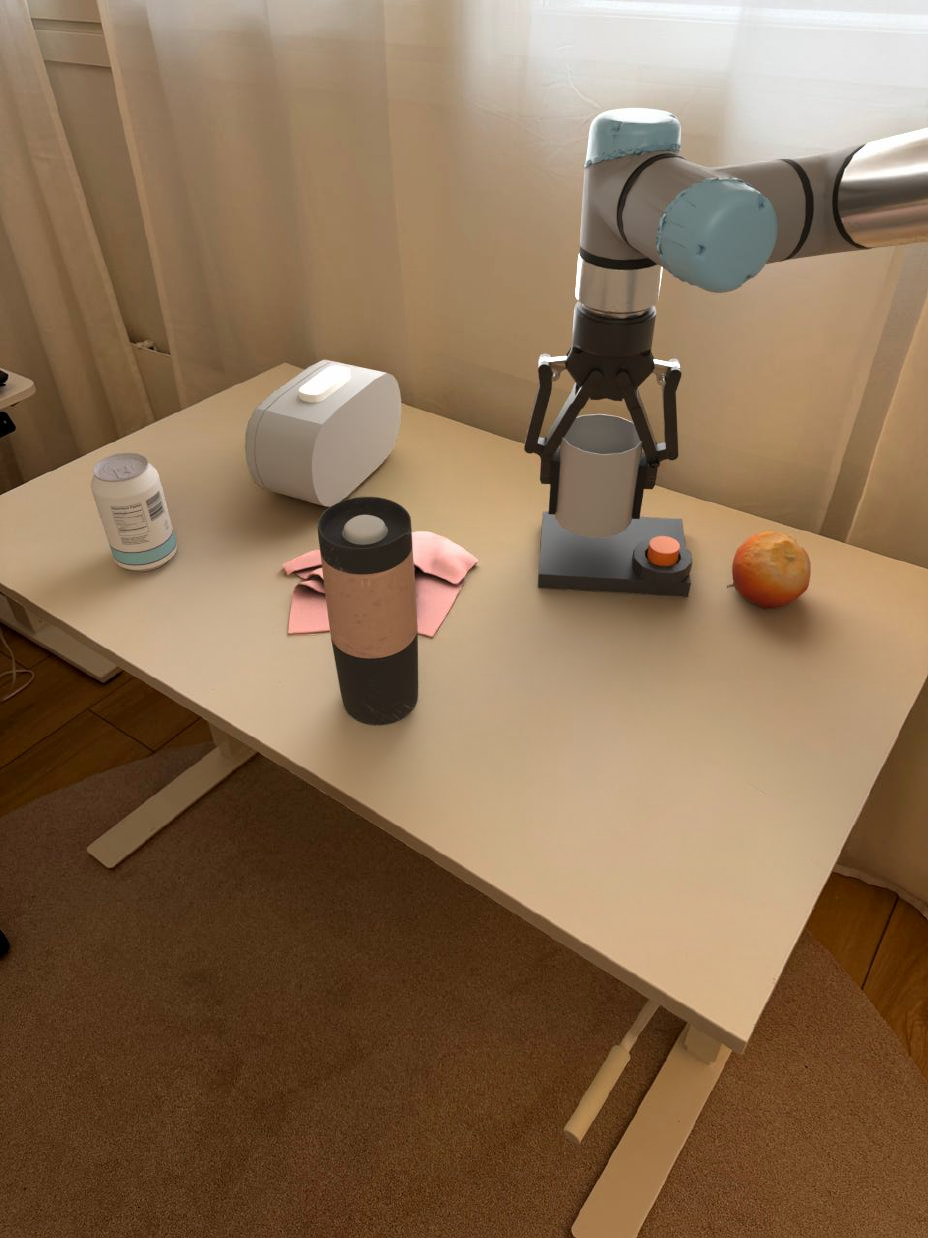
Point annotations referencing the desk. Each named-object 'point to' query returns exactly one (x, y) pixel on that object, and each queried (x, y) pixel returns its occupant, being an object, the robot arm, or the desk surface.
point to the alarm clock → (323, 432)
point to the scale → (613, 559)
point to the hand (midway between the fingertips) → (593, 509)
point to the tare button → (663, 551)
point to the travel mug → (371, 606)
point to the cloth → (434, 584)
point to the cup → (598, 475)
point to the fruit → (771, 570)
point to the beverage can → (133, 511)
